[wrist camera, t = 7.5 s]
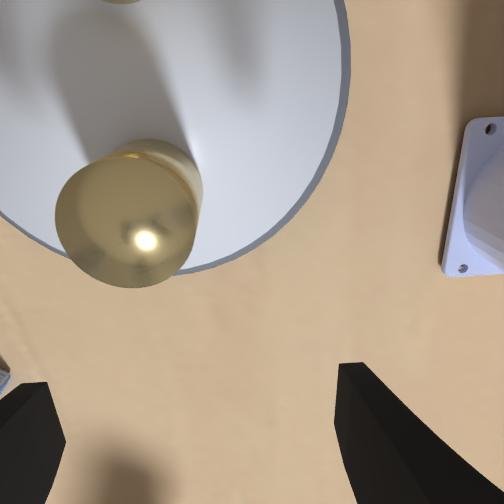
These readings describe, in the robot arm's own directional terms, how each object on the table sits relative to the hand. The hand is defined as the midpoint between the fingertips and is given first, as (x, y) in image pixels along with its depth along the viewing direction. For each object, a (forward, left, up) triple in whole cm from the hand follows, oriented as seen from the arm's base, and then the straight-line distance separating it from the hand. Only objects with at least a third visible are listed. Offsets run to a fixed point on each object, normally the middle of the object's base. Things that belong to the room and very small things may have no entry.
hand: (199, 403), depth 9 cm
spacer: (+2, -4, -8) cm, 9 cm away
